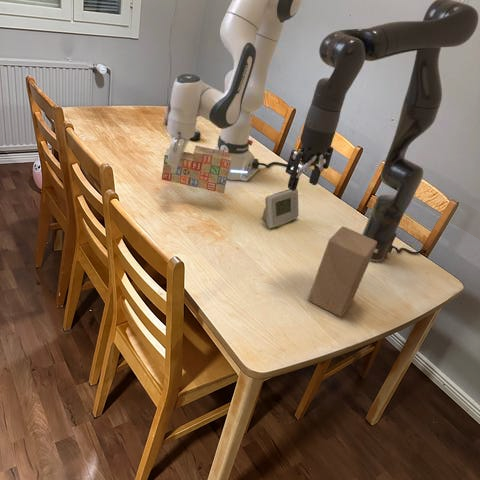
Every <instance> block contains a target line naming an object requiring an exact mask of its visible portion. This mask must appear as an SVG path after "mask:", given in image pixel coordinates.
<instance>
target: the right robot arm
mask: <svg viewBox="0 0 480 480" xmlns="http://www.w3.org/2000/svg"><path fill="white" fill-rule="evenodd" d="M479 18H480V17H479V12H478V11H477V10H476V8H474V7H473V6H472V5H470V4H468V3H464V2H460V1H457V0H434V1H432V3H431V4H430V5H429V7H428V8H427V10H426V12H425V13H424V16H423V19H422V20H402V21H401V20H400V21H399V20H398V21H391V22H386V23H383V24H382V23H381V24H378V25H375V26H371V27H367V28H351V29H350V28H349V29H340V30H336V31H335V30H334V31H333V32H331V33H329V34H328V35H326V36H325V37H324V38H323V39H322V41H321V43H320V45H319V49H318V54H319V58H320V59H321V61H322V62H323V63H324V64H325V65H326V66H328V67H331V68H333V71H332V72H331V74H330V76H329V77H323V78H320V79H319V80H318V81H317V83H316V86H315V89H314V92H313V96H312V99H311V102H310V105H309V107H308V110H307V115H306V117H305V120H304V124H303V128H302V131H301V134H300V138H299V139H300V142H301V145H302V146H301V148H300V150H296V149H292V150H291V152H290V155H289V157H288V162H287V163H286V164H287V166H285V167H286V168H285V173H286V174H287V175H289V179H288V183H287V189H290V190H292V191H295V190H296V189H298V185H299V181H300V177H301V175H302V174H303V172H307V170H308V169H309V168H311V167H313V169H311V173H310V175H309V176H310V177H309V179H308V183H309V184H311V185H312V186H317V185H318V183H319V180H320V176H321V173H323V172H324V170H327V169H328V168H329V166H330V162H331V159H332V155H333V152H334V147H332V143H333V140H334V137H335V134H336V131H337V128H338V124H339V122H340V118H341V112H342V109H343V105H344V102H345V100H346V95H347V93H348V91H349V90H350V89H351V87H352V86H353V84H354V82H355V80H356V78H357V77H358V75H359V74H360V72H361V70H362V68H363V66H364V64H365V61H366V62H374V61H379V60H383V59H386V58H387V59H388V58H390V57H393V56H397V55H401V54H406V53H409V52H415V51H416V52H415V58H414V62H413V67H412V71H411V75H410V79H409V83H408V85H407V86H408V87H407V89H406V93H405V96H404V99H403V103H402V107H401V109H400V115H399V119H398V122H397V126H396V129H395V133H394V136H393V138H392V141H391V145H390V146H389V149H388V152H387V155H386V157H385V161H384V163H383V166H382V168H381V173H380V180H381V182H382V183H383V185H386V186H387V187H388V188H390V189H392V190H394V191H396V194H395V195H392V194H381V195H379V196H377V197H376V200H375V202H374V204H373V207H372V209H371V212H370V215H369V217H368V219H367V222H366V224H365V227H364V229H363V231H362V233H361V234H362V235H364V236H366V237H368V238H371V239H373V240H375V241H377V245H376V247H375V250H374V252H373V254H372V257H371V259H370V261H369V262H375V263H377V262H379V263H380V262H382V261H384V259H387V257H388V254H390V253H392V252H393V249H394V250H395V251H396V252H397V253H401V251H406V252H408V253H410V254H413V255H418V254H420V253H422V252H423V253H426V254H427V250H426V249H423V248H422V249H420V250H418V251H417V250H416V251H412V250H410V249H408V248H405V247H400V248H398V247H396V246H394V245H393V244H394V242H395V239H396V237H397V233H396V232H397V229H398V228H399V225H400V223H401V221H402V219H403V216H404V214H405V212H406V210H407V209H408V207H409V205H410V204H411V202H412V201H413V198H414V196H415V194H416V192H417V191H418V189H419V186H420V184H421V183H422V180H423V178H424V169H423V167H421V166H420V165H418V164H417V163H414V162H412V161H411V160H408V159H406V154H407V151H408V148H409V147H410V145H411V144H412V143H413V142H414V141H415V140H416V139H417V138H419V137H420V136H421V135H422V134H424V133H425V132H427V130H429V129H430V128H431V126H433V124H434V122H435V121H436V118H437V115H438V112H439V109H440V107H441V104H442V99H443V87H442V81H441V74H440V68H439V66H440V65H439V61H440V53H441V49H442V48H455V47H459V46H462V45H464V44H465V43H467V42H468V41H469V40H470V39H471V38H472V36H473V35H474V34H475V32H476V30H477V27H478V24H479ZM324 161H325V162H324Z"/></svg>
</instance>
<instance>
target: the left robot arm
mask: <svg viewBox="0 0 480 480" xmlns="http://www.w3.org/2000/svg"><path fill="white" fill-rule="evenodd" d="M301 3H302V0H231V2H230V4H229V6H228V8H227V10H226V13H225V15H224V17H223V19H222V21H221V24H220V29H219V36H220V39H221V42H222V45H223V46H224V48H225V49H226V50H227V51H228V52H229V54H230V55H231V57H232V59H233V68H232V69H231V70H229V71H228V72H227V74H226V75H225V78H224V92H222V91H220V90H218V89H217V88H215V87H213V86H211V85H209V84H206V83H205V82H204V81H203V80H202V79H201V77H200V76H198V75H196V74H194V73H193V74H192V73H183V74H180V75H178V76H176V78H175V80H174V81H173V85H172V89H171V95H170V105H171V111H170V113H169V117H168V125H167V124H166V132H167V134H169V137H170V139H171V141H170V143H169V147H168V148H169V154H168V160H167V163H168V165H171V173H174V174H175V173H176V172H177V167H178V166H179V164H180V161H181V158H182V156H183V153H184V152H186V148H187V146H188V143H189V141H191V140H190V138H192V137H194V135H195V128H196V127H197V122H198V119H197V118H198V117H201V118H203V119H205V120H207V121H208V122H210V123H211V124H212V125H214V126H215V127H217V128H219V129H220V135H219V136H218V139H217V145H216V146H215V147H214V149H216V150H221V151H223V152H227V153H232V157H231V163H230V169H229V173H228V177H227V180H229V181H242V182H247V181H249V179H251V177H253V176H254V175H255V174H256V173H257V172H258V171H259V166H264V167H265V168H269V167H271V166H272V165H279V166H283V167H287V164H288V163H283V162H279V161H272V162H269V163H268V164H267V163H264V162H260V161H259V159H258V158H255V155H254V154H253V153H252V152H251V151H250V146H252V145H253V143H254V141H253V140H251V139H249V138H250V133H251V128H252V124H253V121H252V112H255V111H257V110H259V109H260V108H261V107H262V106H263V104H264V102H265V89H266V82H267V79H268V74H269V69H270V68H269V67H270V65H271V62H272V58H273V57H274V53H275V51H276V48H277V46H278V42H279V40H280V37H281V34H282V31H283V27H284V23H285V21H289V20H291V19H293V17H295V15H296V14H297V12H298V11H299V9H300V7H301ZM196 129H197V128H196Z"/></svg>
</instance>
